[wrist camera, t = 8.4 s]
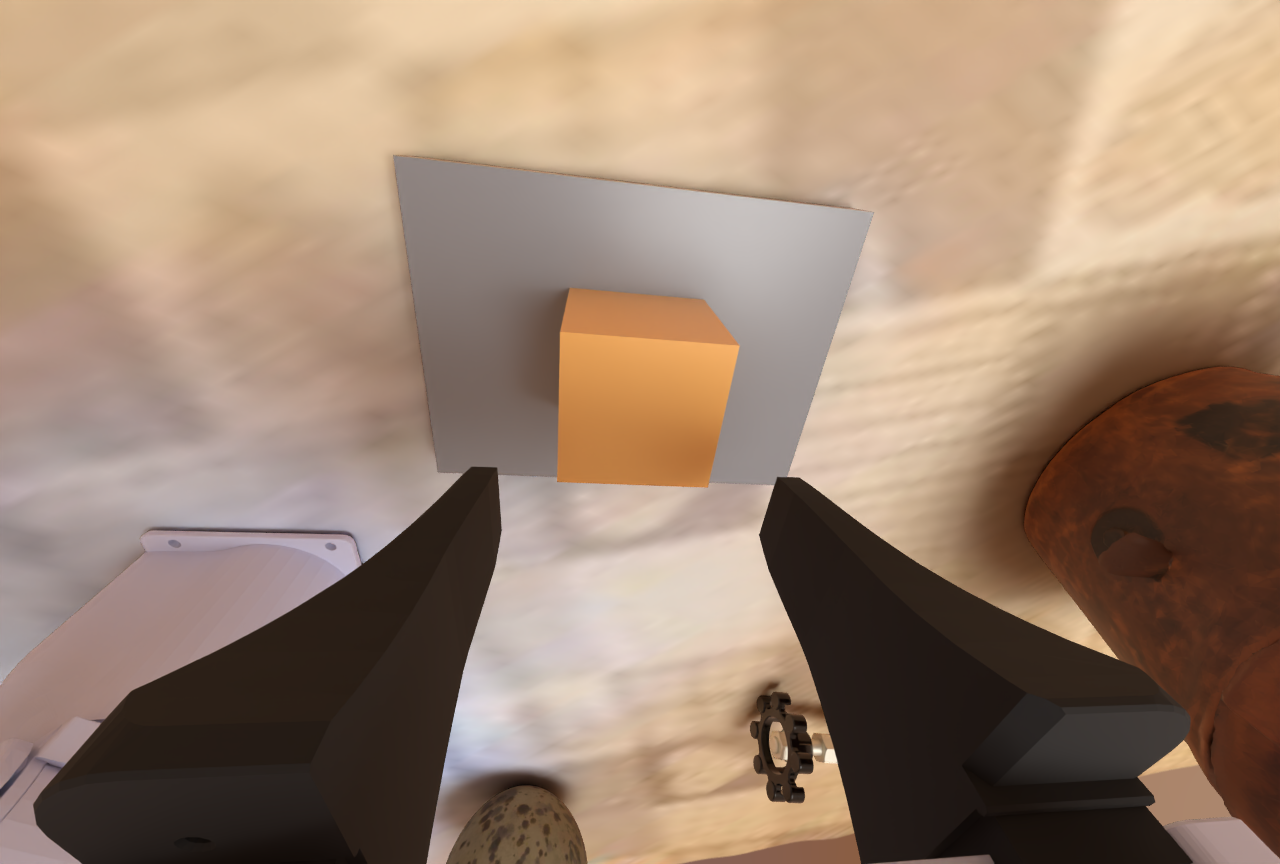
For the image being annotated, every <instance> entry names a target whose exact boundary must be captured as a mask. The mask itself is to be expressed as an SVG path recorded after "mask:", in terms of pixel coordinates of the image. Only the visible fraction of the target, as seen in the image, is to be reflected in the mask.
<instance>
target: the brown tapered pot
mask: <svg viewBox="0 0 1280 864" xmlns="http://www.w3.org/2000/svg"><path fill="white" fill-rule="evenodd" d="M1024 529H1025V532H1026V535H1027V538H1028V540H1029V542H1030V543H1031V545H1032V546H1033V548H1034V549H1035V550H1036V552H1037V553H1038V554H1039V556H1040V557H1041V558H1042V560H1043V561H1044V562H1045V564H1046V565H1047V566H1048V568H1049V569H1050V570H1051V571H1052V573H1053V574H1054V575H1055V576H1056V578H1057V579H1058V581H1059V582H1060V583H1061V584H1062V586H1063V587H1064V588H1065V590H1066V591H1067V592H1068V594H1069V595H1070V596H1071V597H1072V599H1073V600H1074V601H1075V603H1076V604H1077V605H1078V607H1079V608H1080V609H1081V610H1082V612H1083V613H1084V614H1085V616H1086V617H1087V618H1088V620H1089V621H1090V622H1091V624H1092V625H1093V626H1094V628H1095V629H1096V630H1097V631H1098V633H1099V634H1100V635H1101V637H1102V638H1103V639H1104V641H1105V642H1106V643H1107V645H1108V646H1109V647H1110V648H1111V650H1112V651H1113V652H1114V654H1115V655H1116V656H1117V658H1118V659H1119V660H1120V661H1123V662H1125V663H1128V664H1130V665H1133V666H1135V667H1138V668H1140V669H1141V670H1143V671H1144V672H1145V673H1146V674H1147V675H1149V676H1150V677H1151V678H1152V679H1153V680H1154V681H1155V682H1156V683H1157V684H1158V685H1159V686H1160V687H1161V688H1163V689H1164V690H1165V691H1166V692H1167V693H1168V694H1169V695H1170V696H1171V697H1172V698H1173V699H1174V700H1175V701H1177V702H1178V703H1179V704H1180V705H1181V706H1182V707H1183V708H1184V709H1185V710H1186V711H1187V713H1188V714H1189V715H1190V718H1191V723H1190V731H1189V733H1188V734H1187V736H1186V737H1185V739H1184V741H1185V742H1186V743H1187V744H1188V746H1189V747H1190V749H1191V751H1192V753H1193V755H1194V757H1195V759H1196V761H1197V762H1198V764H1199V766H1200V767H1201V769H1202V771H1203V772H1204V774H1205V776H1206V777H1207V779H1208V781H1209V782H1210V784H1211V785H1212V786H1213V787H1214V789H1215V790H1216V791H1217V792H1218V794H1219V795H1220V796H1221V797H1222V799H1223V801H1224V805H1225V806H1226V807H1227V809H1228V811H1229V813H1230V814H1231V816H1232V817H1234V818H1237V819H1240V820H1242V821H1243V822H1244V823H1245V824H1246V825H1247V826H1248V827H1249V828H1250V829H1251V830H1252V831H1253V832H1254V833H1255V834H1256V836H1257V837H1258V838H1259V839H1260V840H1261V841H1262V842H1263V843H1264V844H1265V845H1266V846H1267V847H1268V848H1269V849H1270V850H1271V851H1272V852H1273V853H1274V854H1276V855H1277V856H1278V857H1279V858H1280V376H1274V375H1268V374H1261V373H1256V372H1253V371H1250V370H1247V369H1243V368H1237V367H1212V368H1206V369H1201V370H1196V371H1192V372H1188V373H1184V374H1181V375H1177V376H1174V377H1171V378H1168V379H1165V380H1162V381H1159V382H1156V383H1154V384H1151V385H1149V386H1147V387H1145V388H1142V389H1140V390H1138V391H1136V392H1134V393H1132V394H1131V395H1129V396H1127V397H1126V398H1124V399H1122V400H1121V401H1119V402H1118V403H1116V404H1114V405H1113V406H1112V407H1111V408H1109V409H1108V410H1106V411H1105V412H1104V413H1102V414H1101V415H1099V416H1098V417H1097V418H1095V419H1094V420H1093V421H1091V422H1090V423H1089V424H1088V425H1086V426H1085V427H1084V428H1083V429H1081V430H1080V431H1079V432H1078V433H1077V434H1076V435H1075V436H1074V437H1073V438H1072V439H1071V440H1069V441H1068V443H1067V444H1066V445H1065V446H1064V447H1063V448H1062V449H1061V450H1060V451H1059V452H1058V453H1057V454H1056V456H1055V457H1054V458H1053V459H1052V460H1051V461H1050V463H1049V464H1048V465H1047V467H1046V468H1045V470H1044V471H1043V473H1042V474H1041V476H1040V478H1039V479H1038V481H1037V483H1036V485H1035V487H1034V489H1033V490H1032V493H1031V495H1030V497H1029V500H1028V504H1027V507H1026V511H1025V519H1024Z"/></svg>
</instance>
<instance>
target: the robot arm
mask: <svg viewBox="0 0 1280 864" xmlns="http://www.w3.org/2000/svg"><path fill="white" fill-rule="evenodd" d="M501 531H502V529H501V514H500V499H499V485H498V470H497V467H471V468H469V469H468V470H467V471H466V472H465V473H464V474H463V475H462V476H461V477H460V478H459V479H458V480H457V481H456V482H455V483H454V484H453V485H452V486H451V487H450V488H449V489H448V490H447V491H446V492H445V493H444V494H443V495H442V496H441V497H440V498H439V499H438V500H437V501H436V502H435V503H434V504H433V505H432V506H431V507H430V508H429V509H428V510H427V511H426V512H425V513H423V514H422V515H421V516H420V517H419V518H418V519H417V520H416V521H415V522H414V523H413V524H411V525H410V526H409V527H408V528H407V529H406V530H404V531H403V532H402V533H401V534H400V535H399V536H397V537H396V538H395V539H394V540H393V541H391V542H390V543H389V544H388V545H387V546H385V547H384V548H383V549H382V550H380V551H379V552H378V553H377V554H375V555H374V556H373V557H371V558H370V559H369V560H368V561H366V562H365V563H363V564H362V565H361V561H360V558H359V554H358V551H357V547H356V543H355V541H354V539H353V538H351V537H350V536H348V535H340V534H294V533H247V532H201V531H155V530H153V531H148V532H146V533H145V534H144V535H142V536H141V537H140V542H141V544H142V546H143V548H144V549H145V551H146V552H145V553H144V554H143V555H142V556H141V557H139V558H138V559H137V560H136V561H135V562H134V563H133V564H131V565H130V566H129V567H128V568H127V569H126V570H124V571H123V572H122V573H121V574H120V575H119V576H118V577H116V578H115V579H114V580H113V581H112V582H111V583H109V584H108V585H107V586H106V587H105V588H104V589H103V590H101V591H100V592H99V593H98V594H97V595H96V596H94V597H93V598H92V599H91V600H90V601H89V602H87V603H86V604H85V605H84V606H83V607H82V608H81V609H79V610H78V611H77V612H76V613H75V614H74V615H72V616H71V617H70V618H69V619H68V620H67V621H66V622H64V623H63V624H62V625H61V626H60V627H59V628H57V629H56V630H55V631H54V632H53V633H52V634H50V635H49V636H48V637H47V638H46V639H45V640H44V641H42V642H41V643H40V644H39V645H38V646H37V647H35V648H34V649H33V650H32V651H31V652H30V653H29V654H28V655H27V656H26V657H25V658H24V659H23V660H21V661H20V662H19V663H18V664H17V666H16V667H15V668H14V669H13V670H12V671H11V673H10V674H9V675H8V676H7V677H6V679H5V680H4V682H3V683H2V685H1V686H0V864H426V863H427V857H428V851H429V845H430V839H431V834H432V828H433V822H434V816H435V811H436V806H437V800H438V795H439V789H440V784H441V779H442V773H443V768H444V762H445V757H446V752H447V747H448V742H449V737H450V732H451V727H452V722H453V717H454V712H455V708H456V703H457V698H458V693H459V689H460V684H461V679H462V674H463V670H464V666H465V663H466V659H467V655H468V652H469V648H470V645H471V642H472V639H473V636H474V633H475V629H476V626H477V623H478V620H479V617H480V614H481V610H482V607H483V604H484V601H485V598H486V595H487V591H488V588H489V585H490V582H491V578H492V575H493V572H494V569H495V564H496V559H497V554H498V548H499V542H500V537H501ZM759 536H760V540H761V544H762V548H763V552H764V555H765V559H766V562H767V566H768V569H769V572H770V574H771V577H772V579H773V581H774V584H775V586H776V588H777V591H778V593H779V596H780V598H781V600H782V603H783V605H784V607H785V609H786V612H787V614H788V616H789V619H790V621H791V623H792V626H793V628H794V630H795V633H796V635H797V637H798V639H799V642H800V644H801V646H802V649H803V652H804V654H805V657H806V659H807V662H808V665H809V668H810V671H811V674H812V677H813V680H814V683H815V686H816V690H817V693H818V696H819V699H820V702H821V706H822V709H823V712H824V716H825V719H826V723H827V726H828V730H829V733H830V737H831V740H832V744H833V747H834V751H835V755H836V759H837V763H838V767H839V770H840V774H841V778H842V782H843V786H844V790H845V794H846V798H847V802H848V806H849V811H850V815H851V820H852V824H853V828H854V833H855V837H856V842H857V846H858V850H859V855H860V860H861V864H1280V859H1279V858H1278V857H1277V856H1276V855H1275V854H1274V853H1273V852H1272V851H1271V850H1270V849H1269V848H1268V847H1267V846H1266V845H1265V844H1264V843H1263V842H1262V841H1261V840H1260V839H1259V838H1258V837H1257V836H1256V834H1255V833H1254V832H1253V831H1252V830H1251V829H1250V828H1249V827H1248V826H1247V825H1246V824H1245V823H1244V822H1243V821H1242V820H1240V819H1237V818H1234V817H1221V818H1206V819H1193V820H1184V821H1177V822H1174V823H1171V824H1168V825H1165V826H1162V825H1161V824H1160V823H1159V821H1158V820H1157V819H1156V818H1155V817H1154V816H1153V814H1152V813H1151V812H1150V811H1149V810H1148V808H1147V807H1146V806H1150V805H1152V804H1153V803H1155V800H1154V796H1153V795H1152V793H1151V792H1150V791H1149V790H1148V789H1147V788H1146V787H1145V785H1144V784H1143V783H1142V782H1141V781H1140V780H1139V779H1138V778H1137V777H1138V776H1139V775H1140V774H1142V773H1143V772H1144V771H1146V770H1147V769H1148V768H1149V767H1151V766H1152V765H1153V764H1155V763H1156V762H1157V761H1159V760H1160V759H1161V758H1163V757H1164V756H1165V755H1167V754H1168V753H1169V752H1171V751H1172V750H1173V749H1174V748H1175V747H1176V746H1178V745H1179V744H1180V743H1181V742H1182V741H1183V740H1184V739H1185V737H1186V736H1187V734H1188V733H1189V731H1190V723H1191V718H1190V715H1189V714H1188V713H1187V711H1186V710H1185V709H1184V708H1183V707H1182V706H1181V705H1180V704H1179V703H1178V702H1177V701H1175V700H1174V699H1173V698H1172V697H1171V696H1170V695H1169V694H1168V693H1167V692H1166V691H1165V690H1164V689H1163V688H1161V687H1160V686H1159V685H1158V684H1157V683H1156V682H1155V681H1154V680H1153V679H1152V678H1151V677H1150V676H1149V675H1147V674H1146V673H1145V672H1144V671H1143V670H1141V669H1140V668H1138V667H1135V666H1133V665H1130V664H1128V663H1125V662H1123V661H1120V660H1118V659H1115V658H1113V657H1110V656H1107V655H1105V654H1102V653H1100V652H1097V651H1095V650H1092V649H1090V648H1087V647H1085V646H1082V645H1079V644H1077V643H1074V642H1072V641H1069V640H1067V639H1065V638H1062V637H1060V636H1058V635H1056V634H1053V633H1051V632H1049V631H1047V630H1044V629H1042V628H1040V627H1038V626H1035V625H1033V624H1031V623H1029V622H1026V621H1024V620H1022V619H1020V618H1018V617H1016V616H1014V615H1012V614H1010V613H1008V612H1005V611H1003V610H1001V609H999V608H997V607H995V606H993V605H992V604H990V603H988V602H986V601H984V600H982V599H980V598H978V597H976V596H974V595H972V594H970V593H968V592H966V591H965V590H963V589H961V588H959V587H957V586H956V585H954V584H952V583H950V582H949V581H947V580H945V579H943V578H942V577H940V576H938V575H937V574H935V573H933V572H932V571H930V570H928V569H927V568H925V567H923V566H922V565H920V564H919V563H917V562H915V561H914V560H912V559H911V558H909V557H908V556H906V555H905V554H903V553H902V552H900V551H899V550H897V549H896V548H894V547H893V546H891V545H890V544H888V543H887V542H886V541H884V540H883V539H881V538H880V537H878V536H877V535H876V534H874V533H873V532H871V531H870V530H869V529H867V528H866V527H865V526H863V525H862V524H861V523H859V522H858V521H857V520H855V519H854V518H853V517H851V516H850V515H849V514H847V513H846V512H845V511H844V510H842V509H841V508H840V507H838V506H837V505H836V504H834V503H833V502H832V501H831V500H829V499H828V498H827V497H825V496H824V495H823V494H821V493H820V492H819V491H817V490H816V489H815V488H813V487H812V486H811V485H809V484H808V483H806V482H805V481H803V480H802V479H800V478H795V477H777V479H776V482H775V485H774V489H773V492H772V495H771V498H770V502H769V505H768V508H767V511H766V515H765V518H764V521H763V524H762V528H761V531H760V534H759ZM331 543H333V544H331ZM334 544H335V545H334Z"/></svg>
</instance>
